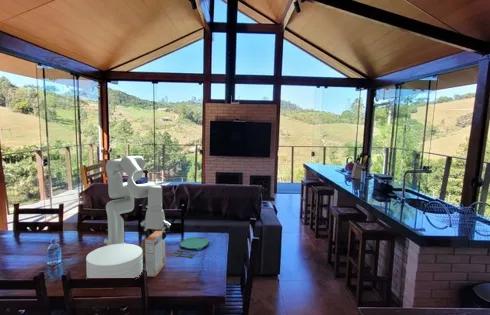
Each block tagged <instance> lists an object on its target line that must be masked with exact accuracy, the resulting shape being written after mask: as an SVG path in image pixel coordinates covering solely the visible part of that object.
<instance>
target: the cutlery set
mask: <svg viewBox="0 0 490 315" xmlns="http://www.w3.org/2000/svg"><path fill="white" fill-rule="evenodd" d="M178 245H179V247H180V248H184V250H183V249H177V250H176V251H174V253H172V254H171V256H174V257H183V258H190V259H193V258H194V256H196V255H197V254H199V253H198V252H197V251H201V250H202V249H204V248H205V247H207V246H209V245H210V240H209V239H208V238H205V237H197V236H190V237H186V238H185V239H183V240H180V243H179V244H178ZM185 249H186V250H185ZM190 250H197V251H196V252H194V251H190Z"/></svg>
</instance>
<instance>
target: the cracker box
mask: <svg viewBox="0 0 490 315" xmlns="http://www.w3.org/2000/svg"><path fill="white" fill-rule="evenodd" d="M162 232H163V231H162V230H155V231H154V232H152V233H151V234H149V237H148V238H146V239H145V257H146V262H145V272H146V271H147V276H146V277H152V278H156V277H157V276H158V275H159V273H160V272H162V270H163V269H164V268H165V266H166V238H165V239H164V240H163V239H162Z"/></svg>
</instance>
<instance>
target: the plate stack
mask: <svg viewBox="0 0 490 315" xmlns="http://www.w3.org/2000/svg"><path fill="white" fill-rule="evenodd" d="M85 261H86V264H85V265H86V279H87V278H135V277H138V278H139V277H140V276H141V275H142V274H141V272H142V273H143V271H142V270H143V268H144V267H143V264H144V261H143V260H142V248H141V246H139V245H136V244H133V243H126V244H113V245H108V246H107V245H104V246H101V247H98V248H96V249H94V250H92V251H91V252H89V253H88V254H87V255H86V257H85ZM140 274H141V275H140ZM139 275H140V276H139Z"/></svg>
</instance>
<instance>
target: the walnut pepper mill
mask: <svg viewBox="0 0 490 315" xmlns="http://www.w3.org/2000/svg"><path fill="white" fill-rule="evenodd" d="M145 239H146V236H144V237H143V239H142V240H141V245H140V247H141V248H142V260H143V263H144V262H145V263H146V257H145Z"/></svg>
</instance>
